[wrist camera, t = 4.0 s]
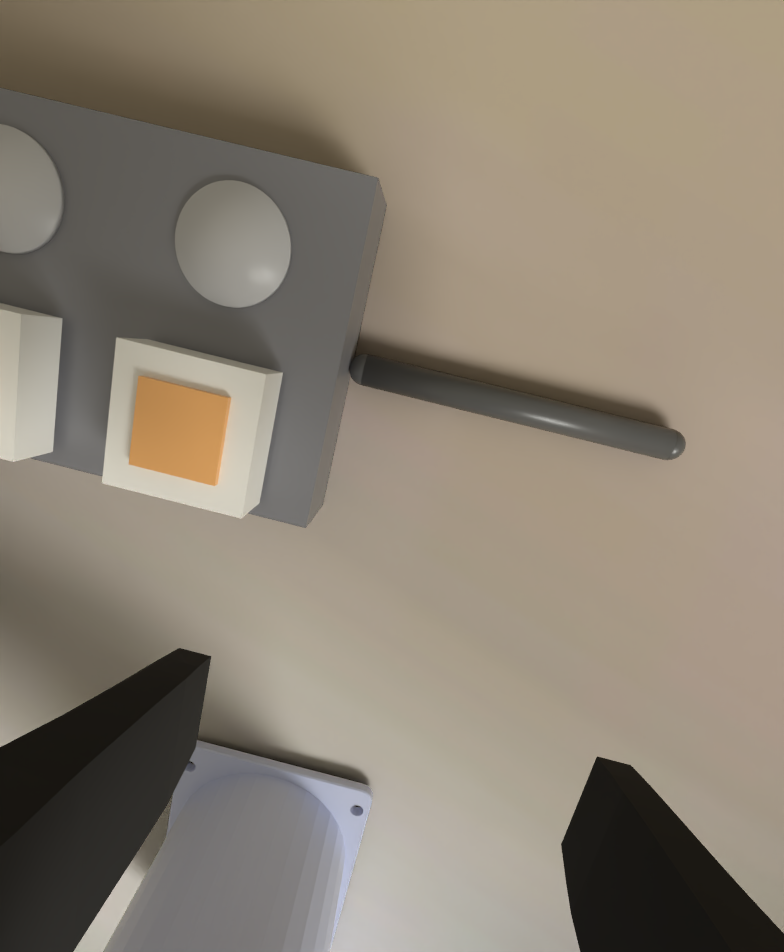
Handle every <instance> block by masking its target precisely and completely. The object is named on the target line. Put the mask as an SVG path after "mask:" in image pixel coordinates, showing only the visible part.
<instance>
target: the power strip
mask: <svg viewBox="0 0 784 952" xmlns="http://www.w3.org/2000/svg"><path fill="white" fill-rule="evenodd" d="M386 206H387V205H386V201H385V198H384V195H383V192H382V188H381V185H380V182H379V178H377V177H373V176H368V175H364V174H360V173H356V172H352V171H347V170H343V169H339V168H335V167H331V166H327V165H322V164H318V163H314V162H310V161H306V160H301V159H297V158H293V157H289V156H285V155H280V154H276V153H272V152H268V151H264V150H259V149H255V148H251V147H247V146H243V145H239V144H234V143H230V142H226V141H222V140H218V139H213V138H209V137H205V136H201V135H197V134H192V133H188V132H184V131H180V130H176V129H172V128H167V127H163V126H159V125H155V124H151V123H146V122H142V121H138V120H134V119H130V118H125V117H121V116H117V115H113V114H109V113H104V112H100V111H96V110H92V109H88V108H84V107H79V106H75V105H71V104H67V103H63V102H58V101H54V100H50V99H46V98H42V97H37V96H33V95H29V94H25V93H21V92H16V91H12V90H8V89H4V88H0V303H3V304H7V305H11V306H15V307H19V308H23V309H27V310H31V311H35V312H39V313H43V314H47V315H51V316H55V317H59V318H63V319H62V333H61V347H60V361H59V374H58V388H57V402H56V416H55V430H54V443H53V452H51V453H47V454H43V455H39V456H35V457H31V458H32V459H36V460H39V461H43V462H47V463H51V464H55V465H59V466H63V467H67V468H71V469H75V470H79V471H83V472H87V473H91V474H95V475H99V476H103V467H104V457H105V447H106V437H107V427H108V417H109V406H110V396H111V386H112V376H113V366H114V356H115V346H116V337H119V338H136V339H149V340H153V341H157V342H161V343H165V344H169V345H173V346H177V347H181V348H186V349H190V350H194V351H198V352H202V353H206V354H210V355H214V356H218V357H222V358H226V359H230V360H234V361H238V362H242V363H246V364H250V365H254V366H258V367H262V368H266V369H270V370H274V371H279V372H283V376H282V381H281V387H280V392H279V398H278V403H277V409H276V414H275V420H274V425H273V431H272V436H271V442H270V448H269V453H268V459H267V464H266V470H265V475H264V481H263V486H262V492H261V497H260V503H259V504H258V505H257V506H256V507H254V508H253V509H252V510H251V511H250V512H249V514H253V515H257V516H261V517H264V518H268V519H272V520H276V521H280V522H284V523H288V524H292V525H296V526H300V527H304V528H306V527H307V526H308V524H309V523H310V522H311V520H312V519H313V518H314V516H315V515H316V513H317V512H318V511H319V509H320V508H321V507H322V505H323V502H324V497H325V492H326V487H327V483H328V478H329V473H330V469H331V464H332V459H333V455H334V450H335V445H336V441H337V436H338V431H339V427H340V422H341V417H342V412H343V408H344V403H345V398H346V394H347V389H348V384H349V380H350V375H351V377H352V379H353V380H354V381H355V382H356V383H358V384H360V385H363V386H367V387H371V388H375V389H380V390H384V391H388V392H392V393H396V394H400V395H404V396H408V397H412V398H416V399H420V400H424V401H428V402H432V403H436V404H440V405H444V406H448V407H452V408H456V409H460V410H464V411H469V412H473V413H477V414H481V415H485V416H489V417H493V418H497V419H501V420H505V421H509V422H513V423H517V424H521V425H525V426H529V427H533V428H537V429H541V430H545V431H549V432H554V433H558V434H562V435H566V436H570V437H574V438H578V439H582V440H586V441H590V442H594V443H598V444H602V445H606V446H610V447H614V448H618V449H622V450H626V451H630V452H634V453H639V454H643V455H647V456H651V457H655V458H659V459H663V460H672V459H675V458H677V457H679V456H680V455H681V454H682V453H683V451H684V449H685V445H686V442H685V439H684V437H683V435H682V434H681V433H680V432H678V431H676V430H674V429H670V428H666V427H662V426H658V425H654V424H650V423H645V422H641V421H637V420H633V419H629V418H625V417H621V416H617V415H613V414H609V413H605V412H601V411H597V410H593V409H588V408H584V407H580V406H576V405H572V404H568V403H564V402H560V401H556V400H552V399H548V398H544V397H540V396H536V395H532V394H527V393H523V392H519V391H515V390H511V389H507V388H503V387H499V386H495V385H491V384H487V383H483V382H479V381H475V380H470V379H466V378H462V377H458V376H454V375H450V374H446V373H442V372H438V371H434V370H430V369H426V368H422V367H418V366H414V365H409V364H405V363H401V362H397V361H393V360H389V359H385V358H381V357H377V356H373V355H369V354H361V355H358V356H357V357H355V358H354V356H355V351H356V347H357V342H358V337H359V333H360V328H361V323H362V319H363V314H364V309H365V305H366V300H367V295H368V291H369V286H370V281H371V276H372V272H373V267H374V262H375V258H376V253H377V248H378V244H379V239H380V234H381V230H382V225H383V220H384V216H385V211H386Z"/></svg>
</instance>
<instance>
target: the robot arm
mask: <svg viewBox="0 0 784 952" xmlns="http://www.w3.org/2000/svg"><path fill="white" fill-rule="evenodd" d="M210 660H211V656H208V655H204V654H200V653H196V652H192V651H188V650H184V649H181V648H179V649H177V650H175V651H173V652H171V653H170V654H168V655H166V656H164V657H163V658H161V659H159V660H157V661H156V662H154V663H152V664H151V665H149V666H147V667H146V668H144V669H142V670H140V671H139V672H137V673H135V674H134V675H132V676H130V677H129V678H127V679H125V680H123V681H122V682H120V683H118V684H117V685H115V686H113V687H112V688H110V689H108V690H106V691H105V692H103V693H101V694H99V695H97V696H96V697H94V698H92V699H90V700H89V701H87V702H85V703H83V704H81V705H80V706H78V707H76V708H74V709H73V710H71V711H69V712H67V713H65V714H64V715H62V716H60V717H58V718H56V719H54V720H52V721H50V722H49V723H47V724H45V725H43V726H41V727H39V728H37V729H35V730H33V731H31V732H29V733H27V734H25V735H23V736H21V737H19V738H18V739H16V740H14V741H12V742H10V743H8V744H6V745H4V746H2V747H0V952H73V951H74V950H75V948H76V946H77V945H78V943H79V942H80V940H81V939H82V937H83V936H84V934H85V932H86V931H87V929H88V928H89V926H90V925H91V923H92V922H93V920H94V918H95V917H96V915H97V914H98V912H99V911H100V909H101V908H102V906H103V904H104V903H105V901H106V900H107V898H108V897H109V895H110V894H111V892H112V890H113V889H114V887H115V886H116V884H117V883H118V881H119V880H120V878H121V876H122V875H123V873H124V872H125V870H126V869H127V867H128V866H129V864H130V862H131V861H132V859H133V858H134V856H135V855H136V853H137V852H138V850H139V848H140V847H141V845H142V844H143V842H144V841H145V839H146V837H147V836H148V834H149V833H150V831H151V829H152V828H153V826H154V825H155V823H156V822H157V820H158V818H159V817H160V815H161V814H162V812H163V810H164V809H165V807H166V806H167V804H168V802H169V800H170V798H171V796H172V794H173V797H172V803H171V809H170V815H169V822H168V828H167V834H166V839H165V840H164V842H163V844H162V846H161V848H160V850H159V851H158V853H157V855H156V857H155V859H154V860H153V862H152V864H151V866H150V868H149V869H148V871H147V873H146V875H145V877H144V879H143V880H142V882H141V884H140V886H139V888H138V889H137V891H136V893H135V895H134V897H133V898H132V900H131V902H130V904H129V906H128V907H127V909H126V911H125V913H124V915H123V917H122V918H121V920H120V922H119V924H118V926H117V927H116V929H115V931H114V933H113V935H112V936H111V938H110V940H109V942H108V944H107V945H106V947H105V949H104V951H103V952H330V949H331V946H332V942H333V939H334V935H335V932H336V928H337V924H338V921H339V917H340V914H341V910H342V907H343V903H344V900H345V896H346V893H347V889H348V885H349V882H350V878H351V875H352V871H353V868H354V864H355V861H356V857H357V853H358V850H359V846H360V843H361V839H362V836H363V832H364V829H365V825H366V822H367V818H368V814H369V811H370V807H371V804H372V797H373V792H372V790H371V788H370V787H369V786H367V785H365V784H363V783H359V782H355V781H351V780H347V779H343V778H340V777H336V776H332V775H328V774H324V773H321V772H317V771H313V770H309V769H305V768H302V767H298V766H294V765H290V764H286V763H283V762H279V761H275V760H271V759H267V758H264V757H260V756H256V755H252V754H248V753H245V752H241V751H237V750H233V749H229V748H226V747H222V746H218V745H214V744H210V743H207V742H203V741H199V740H197V737H198V731H199V725H200V719H201V713H202V707H203V701H204V695H205V690H206V684H207V678H208V672H209V666H210ZM189 761H191V762H193V763H194V764H192V763H190V762H189ZM354 805H358V806H360V807H355V806H354ZM561 846H562V853H563V861H564V869H565V877H566V884H567V890H568V897H569V903H570V909H571V915H572V919H573V923H574V927H575V932H576V936H577V940H578V944H579V948H580V952H784V933H783V932H782V931H781V930H780V929H779V928H778V927H777V926H776V925H775V924H774V923H773V922H772V921H771V919H770V918H769V917H768V916H767V915H766V914H765V913H764V912H763V911H762V910H761V909H760V908H759V907H758V906H757V904H756V903H755V902H754V901H753V900H752V899H751V898H750V897H749V896H748V895H747V894H746V892H745V891H744V890H743V889H742V888H741V887H740V886H739V885H738V884H737V883H736V882H735V880H734V879H733V878H732V877H731V876H730V875H729V874H728V873H727V872H726V870H725V869H724V868H723V867H722V866H721V865H720V864H719V863H718V861H717V860H716V859H715V858H714V857H713V856H712V855H711V854H710V853H709V851H708V850H707V849H706V848H705V847H704V846H703V845H702V844H701V842H700V841H699V840H698V839H697V838H696V837H695V836H694V834H693V833H692V832H691V831H690V830H689V829H688V828H687V827H686V825H685V824H684V823H683V822H682V821H681V820H680V819H679V817H678V816H677V815H676V814H675V813H674V812H673V811H672V810H671V808H670V807H669V806H668V805H667V804H666V803H665V802H664V801H663V799H662V798H661V797H660V796H659V795H658V794H657V793H656V792H655V791H654V789H653V788H652V787H651V786H650V785H649V784H648V783H647V782H646V781H645V780H644V779H643V778H642V776H641V775H640V774H639V773H638V772H637V771H636V770H635V769H634V768H633V767H632V766H631V765H628V764H624V763H620V762H616V761H612V760H608V759H605V758H601V757H597V758H596V760H595V763H594V765H593V768H592V770H591V773H590V775H589V778H588V780H587V782H586V785H585V787H584V790H583V792H582V795H581V797H580V800H579V802H578V805H577V807H576V810H575V812H574V814H573V817H572V819H571V822H570V824H569V827H568V829H567V832H566V834H565V837H564V839H563V841H562V844H561Z"/></svg>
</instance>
